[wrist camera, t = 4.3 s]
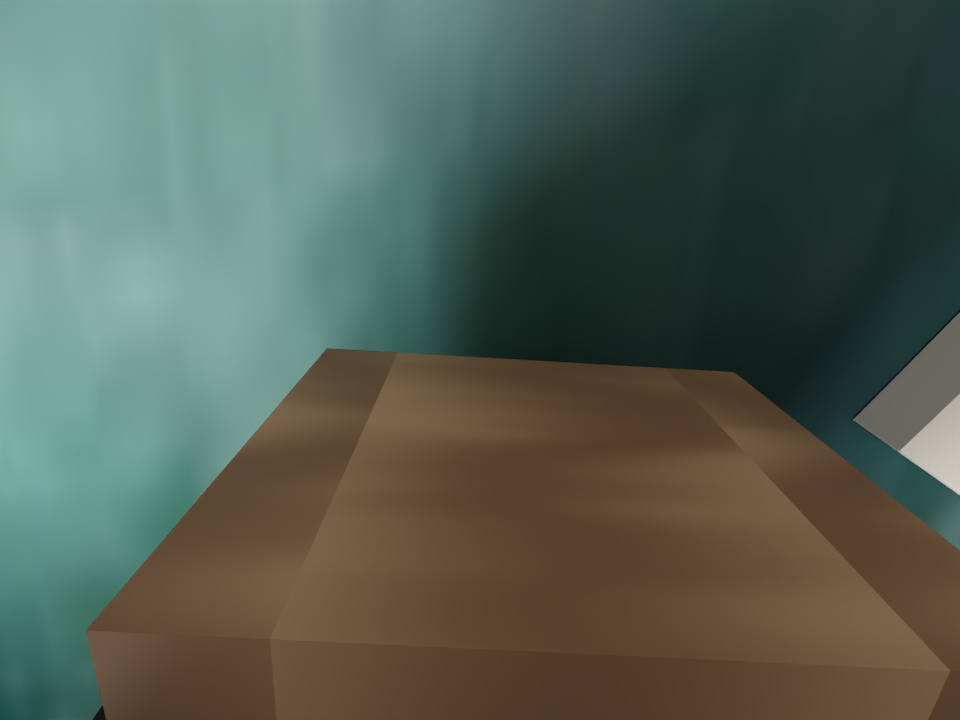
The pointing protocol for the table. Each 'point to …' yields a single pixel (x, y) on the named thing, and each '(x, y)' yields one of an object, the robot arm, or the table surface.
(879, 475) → the table surface
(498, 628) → the oak collar
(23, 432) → the table surface
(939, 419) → the plate
